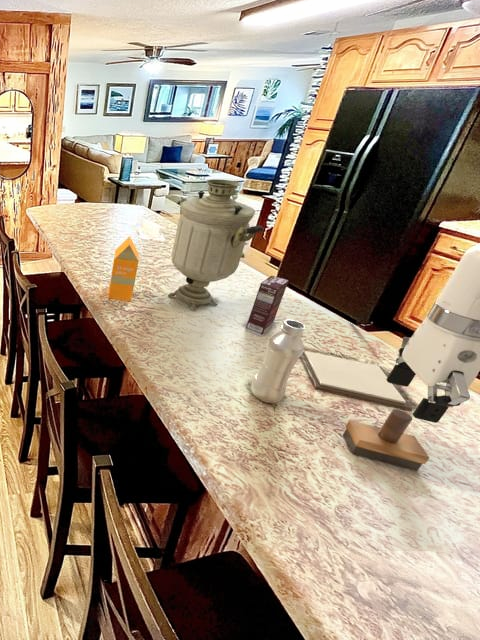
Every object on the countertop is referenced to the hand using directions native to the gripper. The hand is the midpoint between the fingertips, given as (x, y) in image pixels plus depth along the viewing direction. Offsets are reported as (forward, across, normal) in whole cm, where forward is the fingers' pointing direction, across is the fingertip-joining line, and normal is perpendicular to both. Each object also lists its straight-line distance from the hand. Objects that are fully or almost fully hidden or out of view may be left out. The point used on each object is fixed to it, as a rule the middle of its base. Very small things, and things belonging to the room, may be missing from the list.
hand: (409, 400), depth 70 cm
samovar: (+14, +54, +29) cm, 63 cm away
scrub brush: (+13, 0, 0) cm, 13 cm away
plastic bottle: (+14, +9, +18) cm, 24 cm away
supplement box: (+14, +42, +14) cm, 46 cm away
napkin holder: (+14, +120, +48) cm, 130 cm away
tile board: (+13, +25, -3) cm, 29 cm away
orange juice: (+14, +48, +55) cm, 74 cm away
